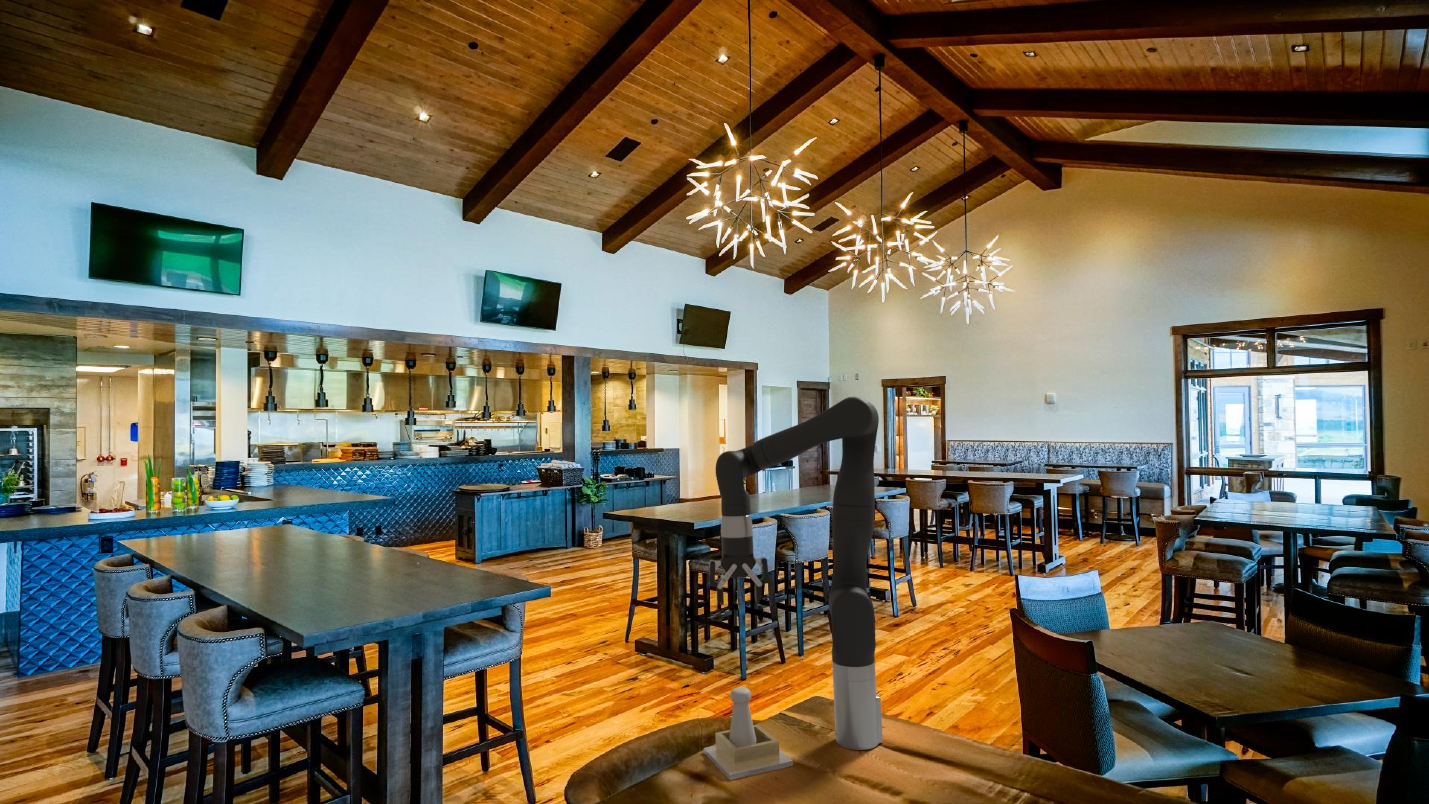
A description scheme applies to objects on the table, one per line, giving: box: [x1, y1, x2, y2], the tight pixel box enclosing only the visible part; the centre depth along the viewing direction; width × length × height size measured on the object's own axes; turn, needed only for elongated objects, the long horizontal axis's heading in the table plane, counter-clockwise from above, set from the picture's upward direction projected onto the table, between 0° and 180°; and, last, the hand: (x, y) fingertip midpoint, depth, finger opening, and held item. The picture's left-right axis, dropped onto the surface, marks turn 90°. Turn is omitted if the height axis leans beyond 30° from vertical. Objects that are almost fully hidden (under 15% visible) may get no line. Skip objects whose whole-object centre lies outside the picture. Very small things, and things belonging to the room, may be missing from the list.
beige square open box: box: [703, 724, 794, 781], centre depth 145 cm, size 14×14×4 cm
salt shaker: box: [729, 686, 756, 748], centre depth 146 cm, size 6×6×13 cm
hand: (739, 603), depth 166 cm, fingers open, 8 cm apart
